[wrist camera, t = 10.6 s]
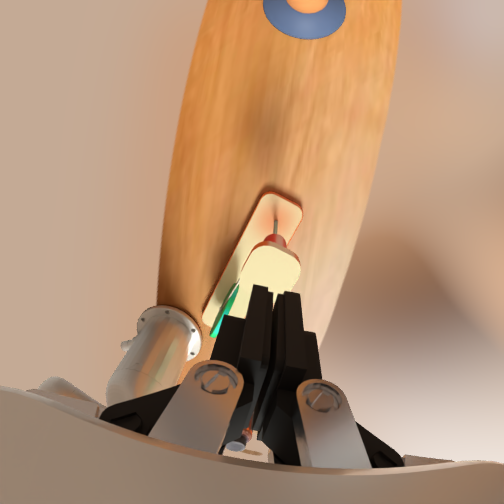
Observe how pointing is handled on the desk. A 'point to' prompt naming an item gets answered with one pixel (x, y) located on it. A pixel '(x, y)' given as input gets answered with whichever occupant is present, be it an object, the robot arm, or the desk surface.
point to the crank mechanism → (257, 260)
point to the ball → (307, 5)
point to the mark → (305, 19)
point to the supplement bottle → (242, 438)
